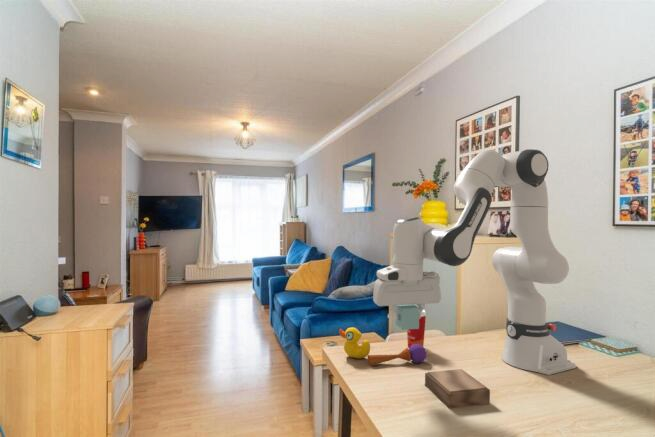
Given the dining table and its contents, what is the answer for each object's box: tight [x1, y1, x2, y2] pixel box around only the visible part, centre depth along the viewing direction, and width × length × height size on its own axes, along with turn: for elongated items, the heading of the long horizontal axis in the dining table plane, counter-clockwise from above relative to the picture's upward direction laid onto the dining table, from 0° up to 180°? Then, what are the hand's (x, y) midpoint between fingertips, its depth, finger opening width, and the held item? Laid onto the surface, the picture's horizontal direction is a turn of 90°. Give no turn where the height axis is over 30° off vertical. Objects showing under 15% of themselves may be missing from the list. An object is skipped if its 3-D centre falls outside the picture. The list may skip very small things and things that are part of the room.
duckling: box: [338, 326, 371, 359], centre depth 116 cm, size 11×5×10 cm, turn 63°
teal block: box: [395, 304, 419, 331], centre depth 99 cm, size 5×5×6 cm
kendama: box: [367, 344, 427, 367], centre depth 112 cm, size 6×6×20 cm
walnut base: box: [424, 368, 491, 409], centre depth 92 cm, size 12×12×4 cm
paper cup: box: [406, 309, 427, 349], centre depth 126 cm, size 8×8×14 cm
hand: (407, 319), depth 99 cm, fingers closed on teal block, 5 cm apart
